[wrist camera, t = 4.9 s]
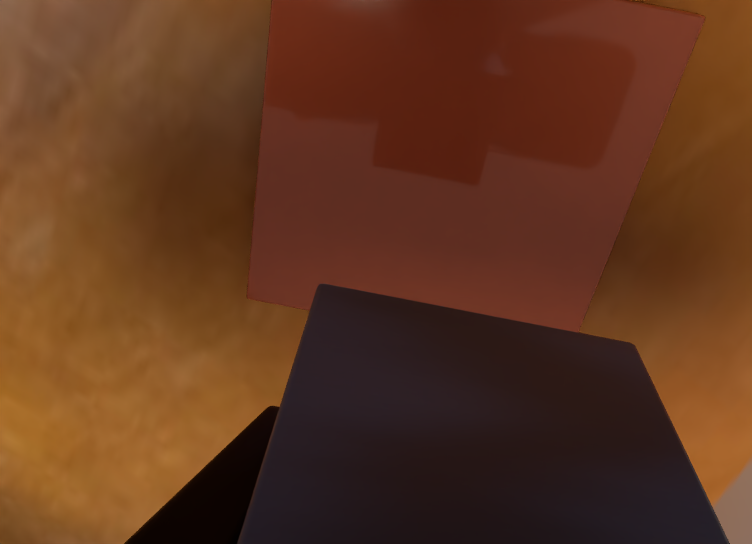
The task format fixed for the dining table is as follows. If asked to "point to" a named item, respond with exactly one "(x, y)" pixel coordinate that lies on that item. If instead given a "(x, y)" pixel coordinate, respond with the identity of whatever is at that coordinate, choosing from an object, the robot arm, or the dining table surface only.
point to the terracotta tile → (457, 148)
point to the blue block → (469, 436)
